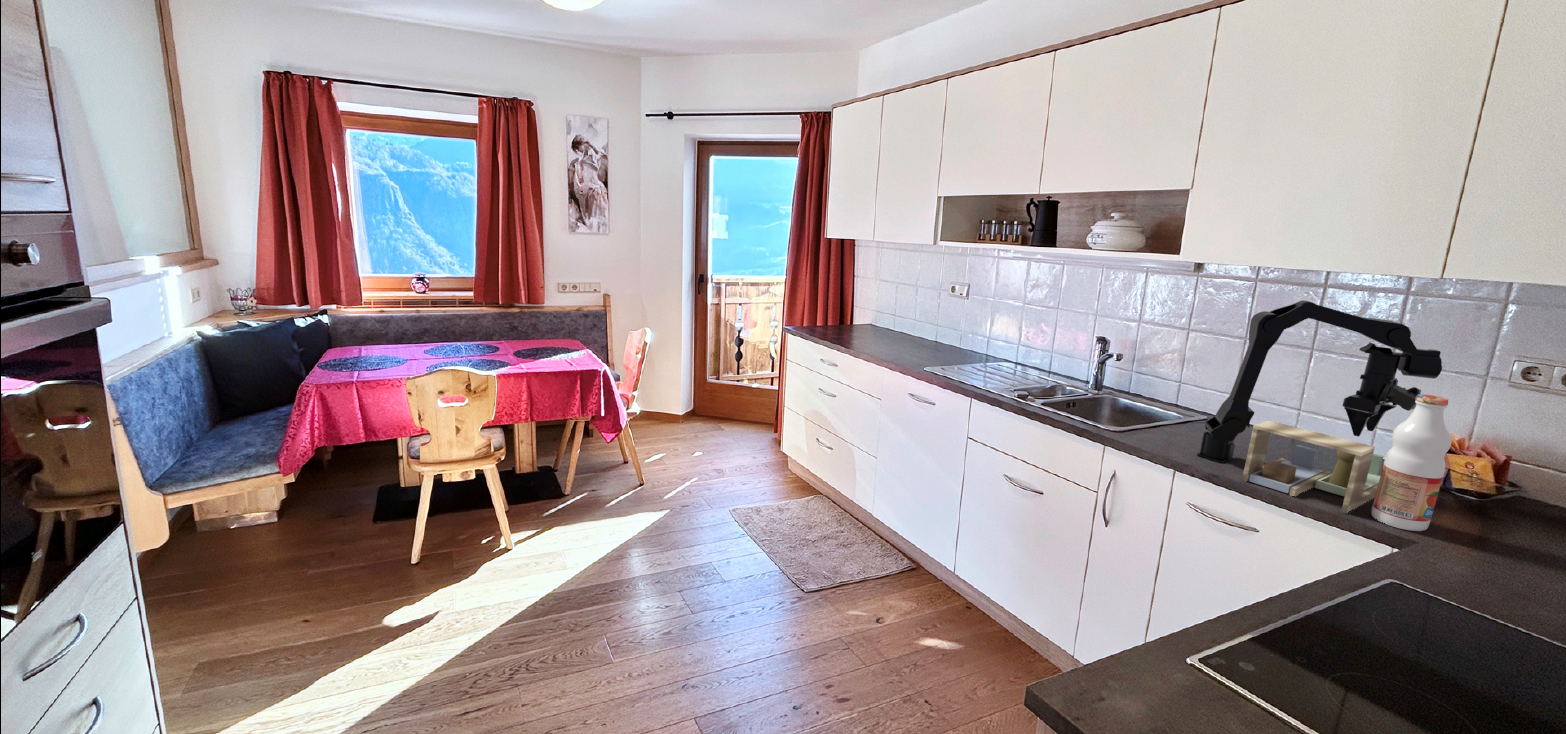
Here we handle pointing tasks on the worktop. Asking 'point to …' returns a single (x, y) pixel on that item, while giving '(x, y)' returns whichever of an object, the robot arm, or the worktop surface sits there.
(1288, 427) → the board
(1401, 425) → the fruit juice
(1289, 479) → the walnut cube
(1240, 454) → the worktop surface
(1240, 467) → the worktop surface
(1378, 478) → the pale green tray
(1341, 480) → the olive rounded upright piece
